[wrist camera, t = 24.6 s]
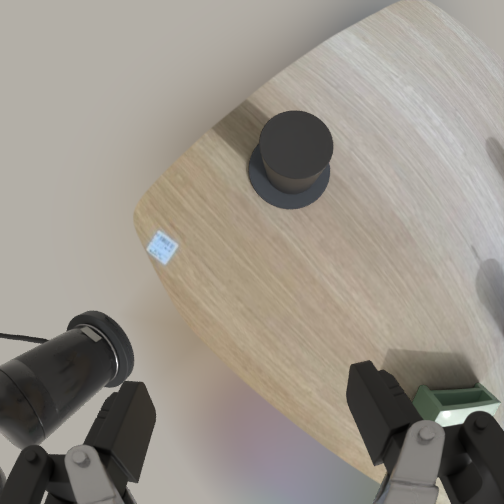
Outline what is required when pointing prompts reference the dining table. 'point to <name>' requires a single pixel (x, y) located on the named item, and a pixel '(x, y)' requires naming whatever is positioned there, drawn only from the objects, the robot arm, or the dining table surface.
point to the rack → (453, 404)
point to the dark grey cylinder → (295, 150)
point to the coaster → (279, 198)
